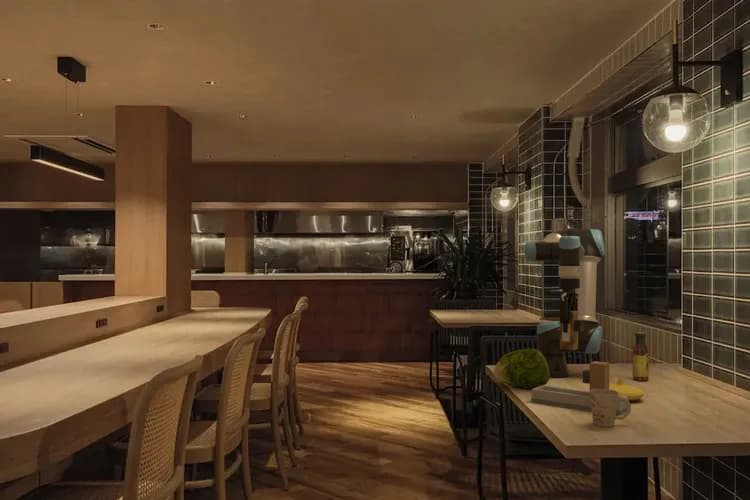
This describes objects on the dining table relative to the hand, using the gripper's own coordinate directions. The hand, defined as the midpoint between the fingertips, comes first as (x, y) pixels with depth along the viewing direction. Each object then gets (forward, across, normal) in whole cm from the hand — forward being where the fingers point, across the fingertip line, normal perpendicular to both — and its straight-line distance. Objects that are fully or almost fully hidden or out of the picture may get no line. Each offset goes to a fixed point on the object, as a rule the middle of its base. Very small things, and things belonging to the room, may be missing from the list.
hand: (568, 340), depth 236 cm
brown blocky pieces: (+20, -15, -9) cm, 27 cm away
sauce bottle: (+21, +49, -13) cm, 55 cm away
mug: (+20, -33, -25) cm, 46 cm away
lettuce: (+21, +3, +20) cm, 29 cm away
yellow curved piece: (+21, +6, -17) cm, 27 cm away
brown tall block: (+3, 0, -1) cm, 3 cm away
